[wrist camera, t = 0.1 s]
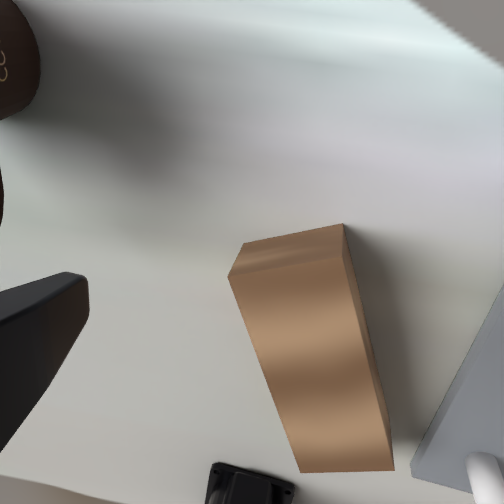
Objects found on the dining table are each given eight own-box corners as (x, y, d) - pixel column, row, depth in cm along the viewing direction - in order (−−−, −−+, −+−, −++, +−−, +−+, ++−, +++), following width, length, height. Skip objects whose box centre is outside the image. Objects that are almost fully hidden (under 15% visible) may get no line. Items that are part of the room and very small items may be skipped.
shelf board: (388, 415, 28) (394, 470, 24) (306, 420, 30) (300, 473, 26) (343, 220, 22) (342, 256, 19) (244, 240, 24) (227, 276, 21)
